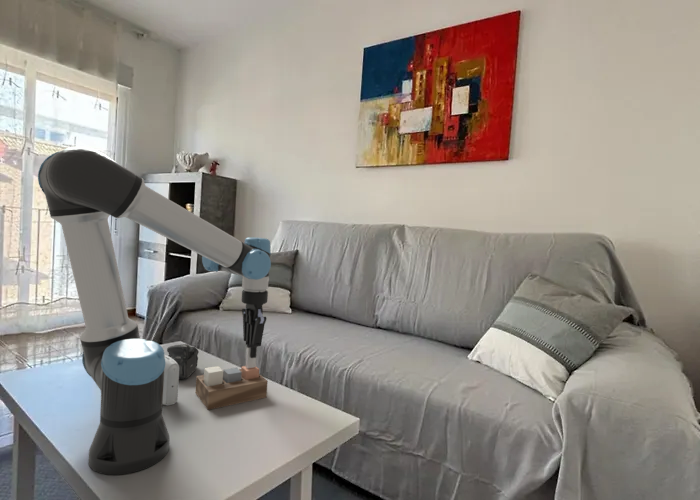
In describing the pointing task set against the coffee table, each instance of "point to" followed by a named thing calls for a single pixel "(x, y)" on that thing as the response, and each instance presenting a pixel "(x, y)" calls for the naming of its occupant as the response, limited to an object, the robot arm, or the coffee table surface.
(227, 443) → the coffee table surface
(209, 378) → the cream short block
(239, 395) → the wooden block tray
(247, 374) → the terracotta key
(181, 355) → the camera
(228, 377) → the slate key
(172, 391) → the photo printer
